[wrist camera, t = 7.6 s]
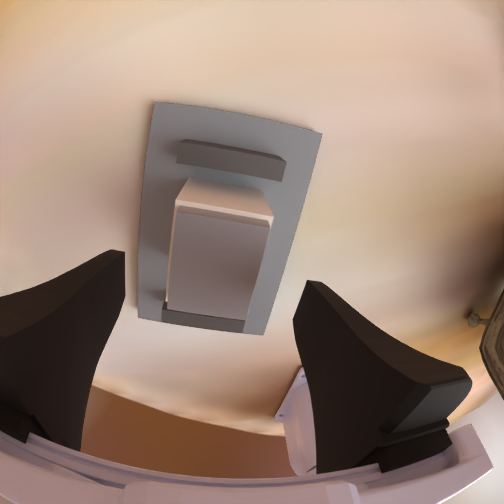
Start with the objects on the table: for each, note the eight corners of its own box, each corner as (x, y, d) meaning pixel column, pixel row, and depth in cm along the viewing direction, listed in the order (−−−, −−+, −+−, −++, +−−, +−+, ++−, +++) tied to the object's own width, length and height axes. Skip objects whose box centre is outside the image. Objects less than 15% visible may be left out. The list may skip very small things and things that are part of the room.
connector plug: (243, 269, 17) (248, 324, 13) (177, 259, 17) (162, 311, 12) (262, 190, 15) (276, 224, 11) (189, 177, 15) (172, 206, 10)
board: (261, 326, 21) (266, 355, 18) (141, 309, 19) (131, 337, 17) (317, 132, 15) (335, 136, 12) (159, 102, 14) (144, 99, 11)
